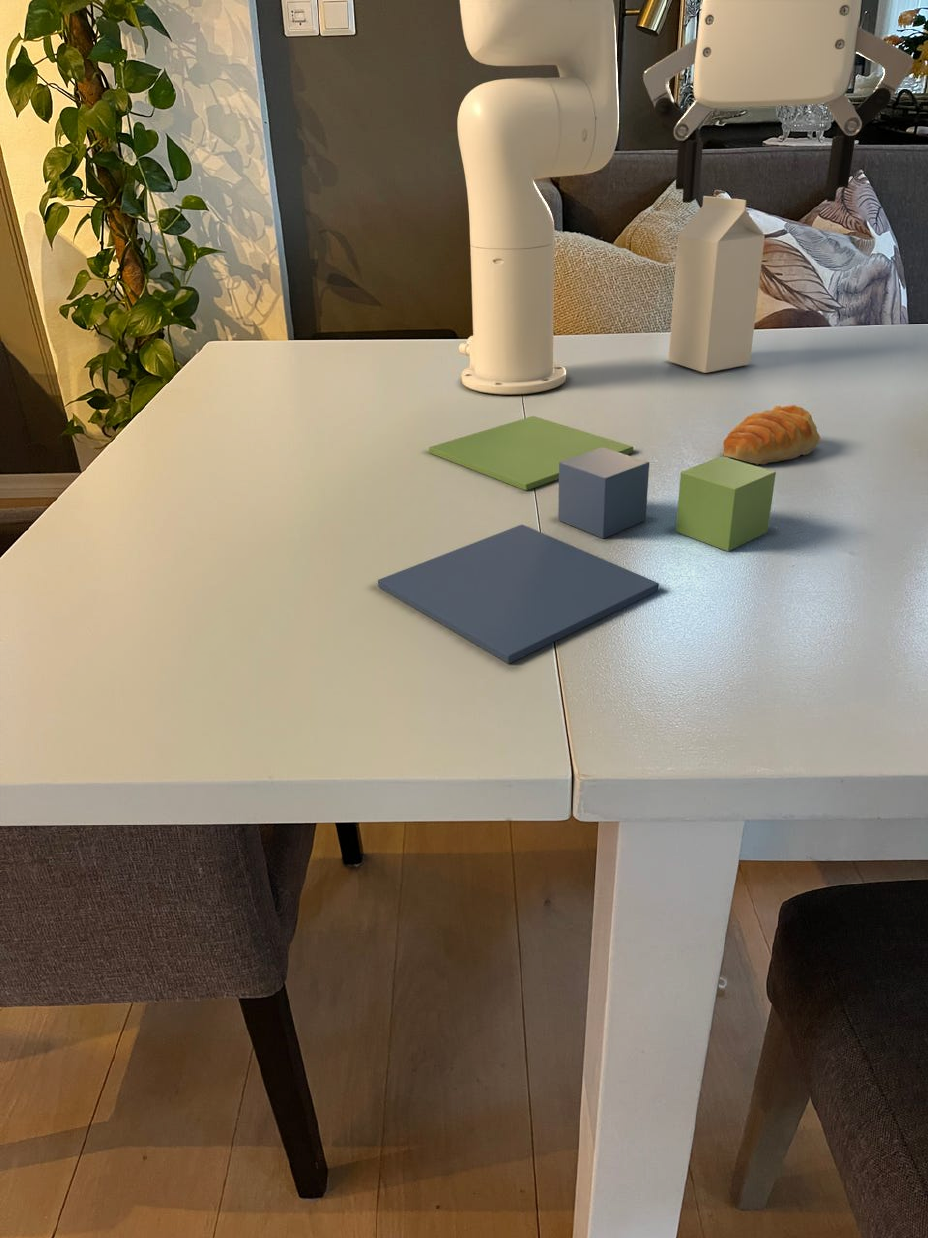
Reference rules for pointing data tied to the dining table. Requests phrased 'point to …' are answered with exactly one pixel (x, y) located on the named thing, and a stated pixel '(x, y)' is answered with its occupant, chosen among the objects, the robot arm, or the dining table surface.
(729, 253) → the milk carton
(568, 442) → the green mat
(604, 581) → the blue mat
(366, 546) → the dining table surface
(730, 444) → the pastry
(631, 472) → the blue block
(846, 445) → the dining table surface
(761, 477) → the green block
